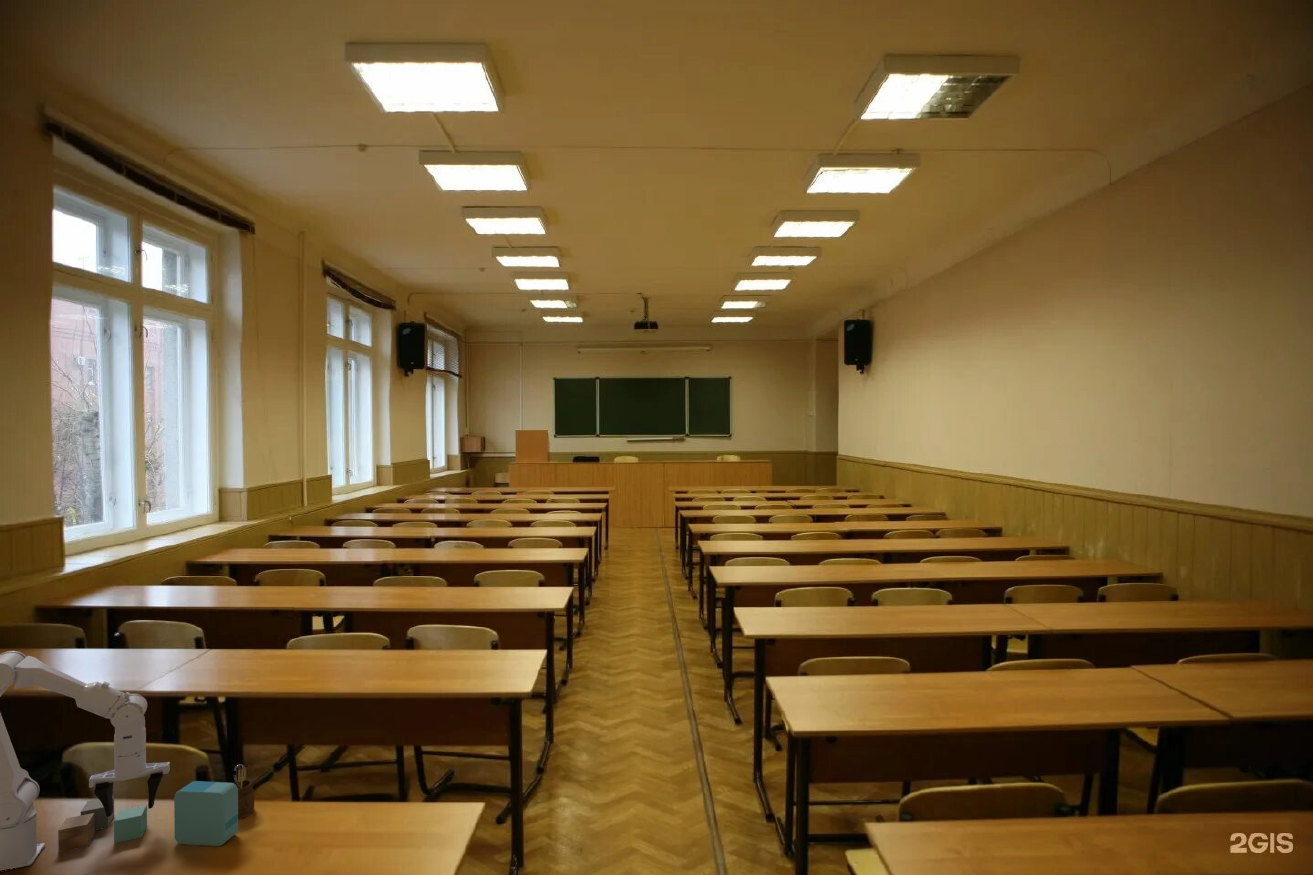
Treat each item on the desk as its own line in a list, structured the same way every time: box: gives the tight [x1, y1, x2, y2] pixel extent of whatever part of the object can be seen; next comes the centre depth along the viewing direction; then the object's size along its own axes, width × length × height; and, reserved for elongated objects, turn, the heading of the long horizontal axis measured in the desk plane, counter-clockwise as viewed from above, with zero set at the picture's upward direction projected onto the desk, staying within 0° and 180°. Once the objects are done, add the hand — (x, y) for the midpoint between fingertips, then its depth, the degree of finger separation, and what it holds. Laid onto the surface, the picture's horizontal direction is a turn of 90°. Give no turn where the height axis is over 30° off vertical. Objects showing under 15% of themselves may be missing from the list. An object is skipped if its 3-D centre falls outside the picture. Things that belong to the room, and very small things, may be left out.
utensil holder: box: [233, 764, 255, 820], centre depth 163 cm, size 6×6×12 cm
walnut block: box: [57, 813, 95, 853], centre depth 151 cm, size 5×5×5 cm
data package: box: [173, 780, 239, 847], centre depth 153 cm, size 12×4×12 cm, turn 85°
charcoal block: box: [80, 796, 115, 831], centre depth 158 cm, size 5×5×5 cm
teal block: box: [113, 804, 148, 844], centre depth 155 cm, size 5×5×5 cm
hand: (130, 810), depth 155 cm, fingers open, 7 cm apart
